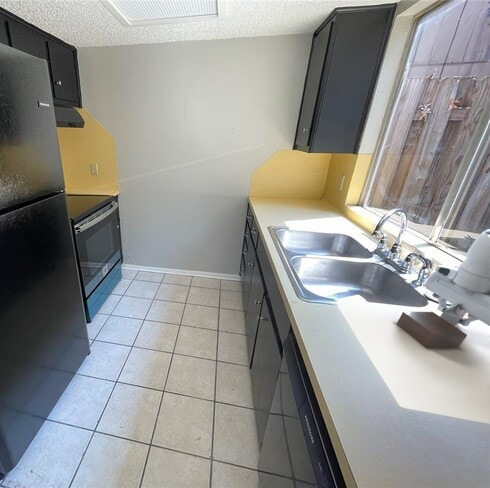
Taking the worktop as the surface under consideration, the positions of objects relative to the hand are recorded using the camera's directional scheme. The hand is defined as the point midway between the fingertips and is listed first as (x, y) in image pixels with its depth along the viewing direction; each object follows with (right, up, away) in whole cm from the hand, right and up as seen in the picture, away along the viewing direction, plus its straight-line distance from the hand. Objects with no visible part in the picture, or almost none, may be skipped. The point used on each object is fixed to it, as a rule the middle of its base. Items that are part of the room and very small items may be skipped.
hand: (451, 317), depth 82 cm
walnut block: (-11, -5, -3) cm, 12 cm away
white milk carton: (0, -4, +2) cm, 4 cm away
